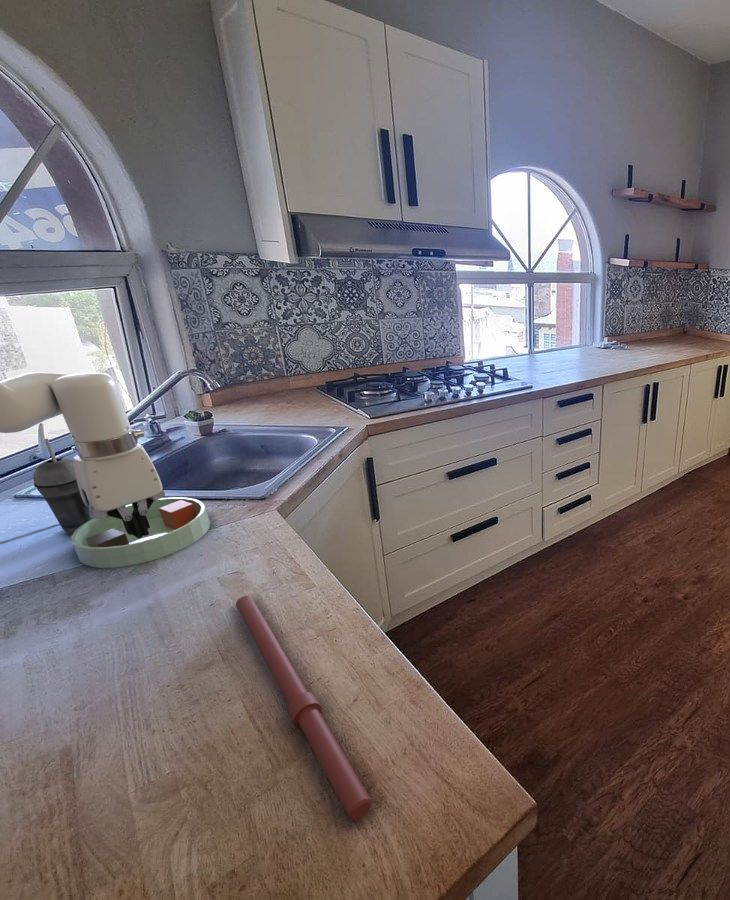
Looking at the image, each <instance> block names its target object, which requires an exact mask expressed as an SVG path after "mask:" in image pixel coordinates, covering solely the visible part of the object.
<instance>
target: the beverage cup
mask: <svg viewBox="0 0 730 900" xmlns="http://www.w3.org/2000/svg"><path fill="white" fill-rule="evenodd" d="M44 442H45V445H46V447H47V450H48V453H49V455H50V459H47V460H45V461H43V462H42V463H40V464H39V465H38V466H37V467H36V468H35V470H34V472H33V474H32V475H33V476H32V479H33V487H34V488H36V489H37V491H38V492H39V494H40V495H41V496H42V497H43V498H44V500H45V501H46V503H47V505H48V507H49V508H50V510H51V512H52V513H53V515H54V517H55V519H56V520H57V522H58V523H59V525H60V527H61V529H62V530H63V531H64V532H65V534H66V535H67V536H72V535H73V533H74V532H75V530H77V529H78V528H79V527H80V526H82V525H83V524H84V523H86V522H88V521H90V520H92V519H93V518H92V517H90V515H89V506H86V505H85V503H84V502H83V499H82V497H81V494H80V490H79V487H78V483H77V480H76V475H75V471H74V464H73V459H69V458H62V457H57V458H56V455H55V452H54V450H53V447H52V445H51V441H50V439H49V438H44Z"/></svg>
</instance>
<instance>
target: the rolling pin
mask: <svg viewBox="0 0 730 900" xmlns="http://www.w3.org/2000/svg"><path fill="white" fill-rule="evenodd" d="M235 606H236V608H237V610H238V612H239V614H240V616H241V617H242V620H243V621H244V623H245V625H246V627H247V629H248V630H249V633H250V635H251V637H252V639H253V641H254V642H255V644H256V647H258V649H259V652H260V653H261V655H262V657H263V659H264V660H265V663H266V665H267V666H268V668H269V670H270V672H271V674H272V676H273V678H274V679H275V681H276V683H277V686H278V687H279V689H280V691H281V692H282V694H283V696H284V698H285V700H286V702H287V704H288V706H287V709H286V711H287V714H288V715H289V717H290V719H291V722H292V724H293V725H294V727H296V728H300V729H301V730H302V733H303V734H304V736H305V738H306V739H307V741H308V743H309V745H310V747H311V749H312V750H313V752H314V754H315V756H316V758H317V760H318V763H319V764H320V766H321V767H322V769H323V772H324V773H325V776H326V777H327V779H328V781H329V783H330V785H331V786H332V788H333V790H334V793H335V794H336V796H337V797H338V800H339V801H340V803H341V805H342V808H343V809H344V810H345V814H346V815H347V817H348V818H349V820H350V821H357V820H360V819H362V818H363V817H365V816H366V815H367V813H368V812H369V811H370V809H371V807H372V804H373V802H372V799H371V797H370V795H369V794H368V792H367V790H366V788H365V787H364V785H363V784H362V782H361V779H359V777H358V775H357V773H356V772H355V770H354V769H353V767H352V765H351V763H350V762H349V760H348V758H347V757H346V755H345V753H344V752H343V749H342V748H341V746H340V745H339V743H338V741H337V740H336V738H335V736H334V734H333V733H332V731H331V729H330V727H329V726H328V724H327V723H326V721H325V718H323V716H322V712H323V707H322V704H320V702H319V700H318V698H317V696H316V695H315V694H314V693H313V692H310V691H309V692H308V690H307V689H306V687H305V684H304V683H303V681H302V680H301V678H300V676H299V674H298V672H297V671H296V670H295V668H294V666H293V665H292V663H291V661H290V660H289V657H288V656H287V654H286V652H285V651H284V650H283V647H282V645H281V644H280V643H279V641H278V639H277V638H276V636H275V633H273V631H272V629H271V627H270V626H269V623H268V622H267V620H266V619H265V617H264V615H263V614H262V612H261V610H260V608H259V607H258V605H257V603H256V602H255V600H254V598H253V597H252V596H251V595H243V596H241V597H239V598H238V599H237V600H236V602H235Z"/></svg>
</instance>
